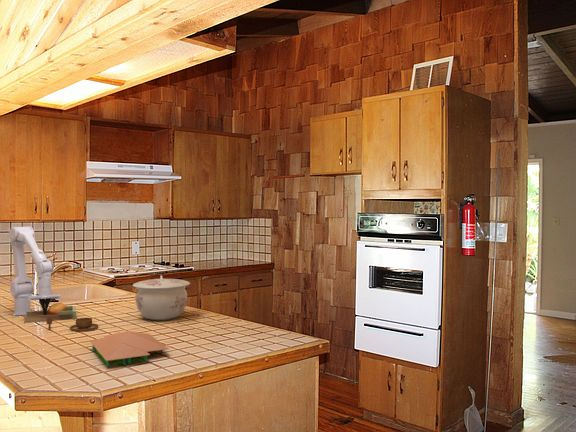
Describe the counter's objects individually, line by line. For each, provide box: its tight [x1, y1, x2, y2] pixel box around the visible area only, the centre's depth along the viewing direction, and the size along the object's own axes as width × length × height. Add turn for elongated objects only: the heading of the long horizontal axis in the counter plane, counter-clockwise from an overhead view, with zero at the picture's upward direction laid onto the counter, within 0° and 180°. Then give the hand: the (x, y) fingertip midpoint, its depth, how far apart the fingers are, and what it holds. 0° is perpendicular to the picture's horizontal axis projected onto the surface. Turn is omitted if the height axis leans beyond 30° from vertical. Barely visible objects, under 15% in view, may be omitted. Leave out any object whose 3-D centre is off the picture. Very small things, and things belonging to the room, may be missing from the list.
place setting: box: [46, 317, 101, 333], centre depth 245 cm, size 18×20×6 cm
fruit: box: [47, 302, 66, 315], centre depth 268 cm, size 8×8×8 cm
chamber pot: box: [132, 275, 191, 322], centre depth 267 cm, size 28×28×21 cm
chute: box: [23, 305, 77, 324], centre depth 267 cm, size 14×23×4 cm, turn 112°
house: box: [89, 330, 169, 369], centre depth 204 cm, size 23×33×8 cm
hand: (45, 314), depth 266 cm, fingers closed
